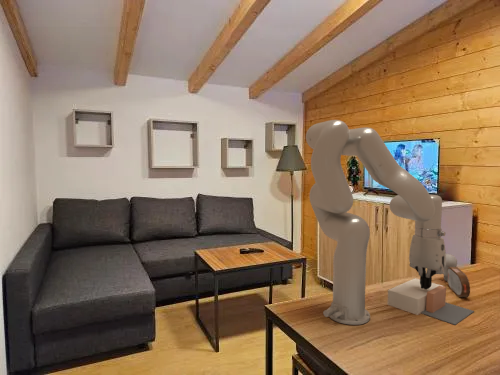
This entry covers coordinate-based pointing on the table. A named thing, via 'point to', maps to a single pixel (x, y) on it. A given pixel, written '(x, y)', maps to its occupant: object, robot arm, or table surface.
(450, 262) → the lightbulb
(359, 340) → the table surface
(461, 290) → the tin
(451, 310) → the mat
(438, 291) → the tile
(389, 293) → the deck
